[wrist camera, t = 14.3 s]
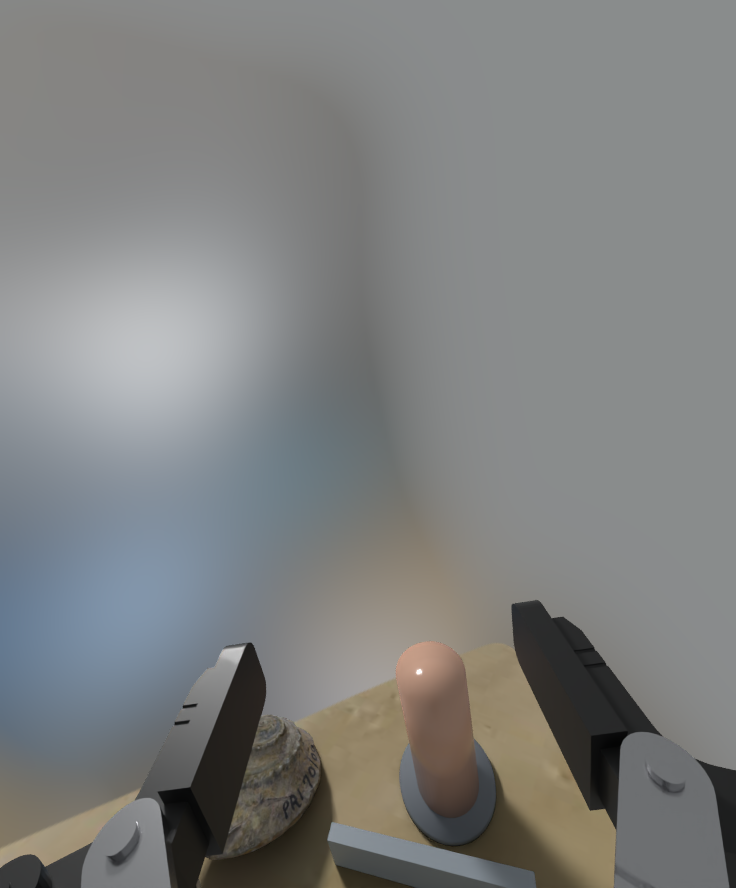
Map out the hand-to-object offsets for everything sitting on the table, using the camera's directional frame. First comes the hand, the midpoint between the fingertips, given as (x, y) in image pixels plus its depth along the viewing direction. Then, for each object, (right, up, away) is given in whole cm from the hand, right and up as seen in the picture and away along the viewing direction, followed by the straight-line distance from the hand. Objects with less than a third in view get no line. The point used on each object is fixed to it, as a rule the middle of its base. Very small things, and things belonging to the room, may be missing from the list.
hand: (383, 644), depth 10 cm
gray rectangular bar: (+4, -25, +14) cm, 29 cm away
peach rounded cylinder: (+6, -22, +19) cm, 30 cm away
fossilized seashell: (-10, -26, +20) cm, 34 cm away
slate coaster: (+6, -23, +19) cm, 30 cm away
